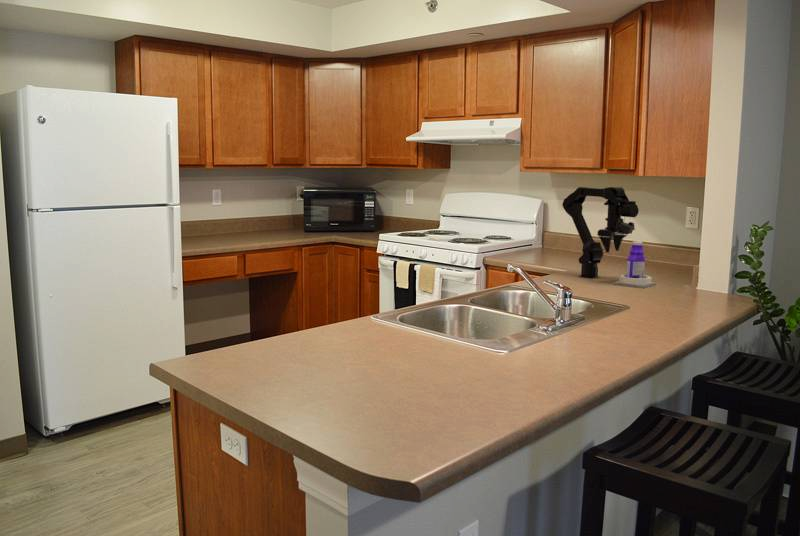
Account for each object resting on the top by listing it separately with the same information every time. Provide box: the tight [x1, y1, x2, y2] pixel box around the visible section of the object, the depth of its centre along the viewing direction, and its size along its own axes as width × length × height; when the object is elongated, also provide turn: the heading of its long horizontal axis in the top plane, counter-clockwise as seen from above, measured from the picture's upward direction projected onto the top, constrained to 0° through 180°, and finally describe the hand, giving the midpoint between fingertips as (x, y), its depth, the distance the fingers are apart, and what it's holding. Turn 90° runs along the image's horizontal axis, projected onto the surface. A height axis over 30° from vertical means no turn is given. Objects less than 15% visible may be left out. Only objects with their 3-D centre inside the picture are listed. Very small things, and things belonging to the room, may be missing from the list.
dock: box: [613, 273, 657, 289], centre depth 287 cm, size 13×13×4 cm
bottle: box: [625, 241, 646, 278], centre depth 286 cm, size 7×6×17 cm
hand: (612, 251), depth 295 cm, fingers open, 9 cm apart
